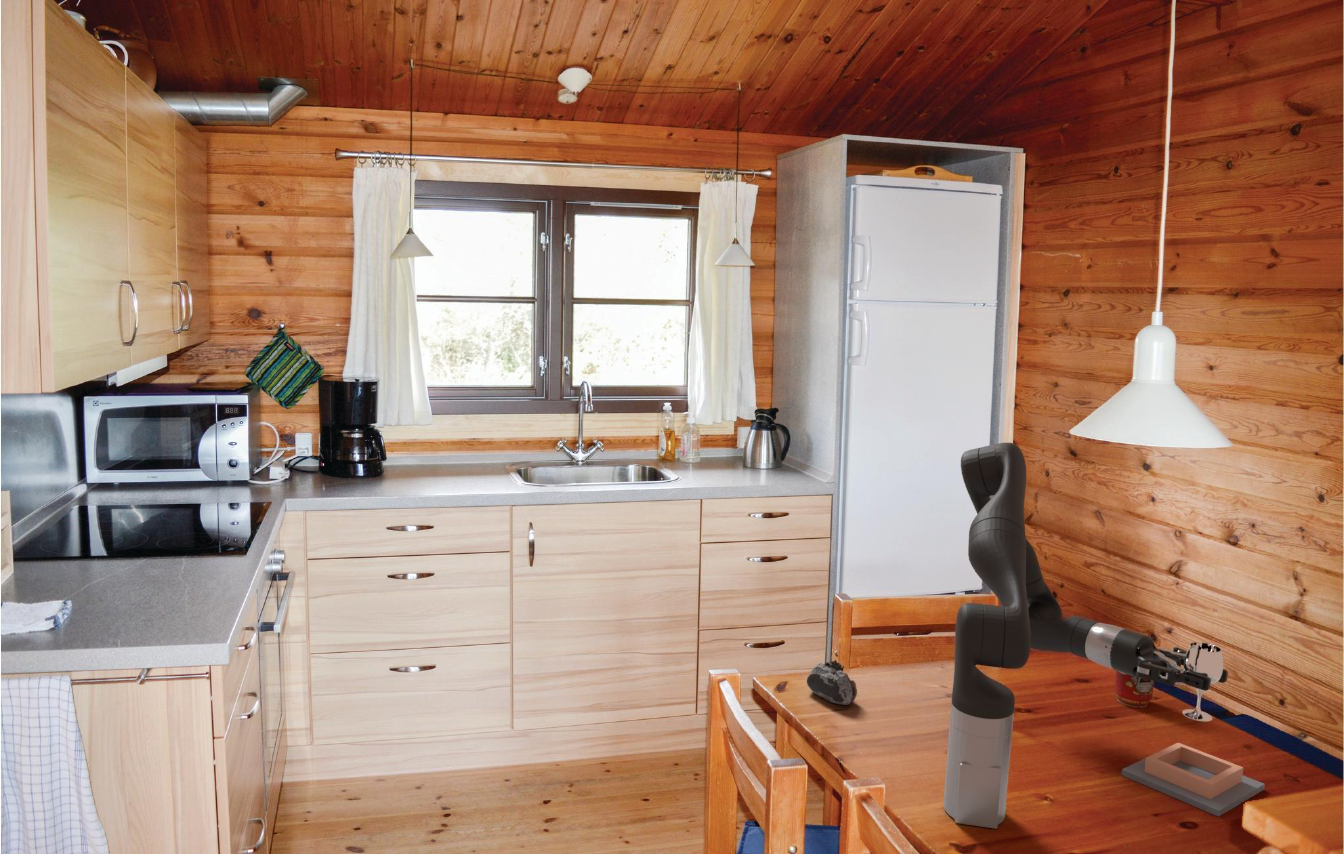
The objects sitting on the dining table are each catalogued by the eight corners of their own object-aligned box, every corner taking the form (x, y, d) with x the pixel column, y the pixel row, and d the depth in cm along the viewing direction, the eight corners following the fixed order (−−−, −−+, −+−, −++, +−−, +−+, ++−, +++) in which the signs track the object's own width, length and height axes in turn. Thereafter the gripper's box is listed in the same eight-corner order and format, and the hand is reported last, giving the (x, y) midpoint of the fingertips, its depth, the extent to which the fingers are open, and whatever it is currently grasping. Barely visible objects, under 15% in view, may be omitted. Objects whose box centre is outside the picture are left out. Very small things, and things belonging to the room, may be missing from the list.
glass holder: (1264, 789, 164) (1266, 769, 163) (1218, 816, 154) (1220, 795, 154) (1168, 751, 177) (1171, 733, 176) (1121, 774, 167) (1123, 755, 167)
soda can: (1131, 710, 194) (1137, 651, 193) (1105, 696, 201) (1111, 638, 199) (1159, 707, 197) (1166, 648, 195) (1133, 693, 203) (1139, 636, 202)
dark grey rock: (844, 714, 188) (879, 699, 195) (845, 679, 187) (879, 666, 194) (799, 694, 198) (833, 680, 204) (800, 660, 197) (834, 648, 203)
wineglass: (1178, 705, 168) (1186, 638, 166) (1216, 713, 166) (1224, 645, 164) (1177, 717, 163) (1186, 648, 161) (1217, 726, 160) (1226, 656, 159)
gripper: (1100, 635, 170) (1200, 667, 156) (1141, 621, 178) (1240, 650, 165) (1095, 677, 171) (1195, 712, 157) (1137, 661, 179) (1234, 693, 166)
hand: (1217, 680), depth 161 cm, fingers closed on wineglass, 5 cm apart
